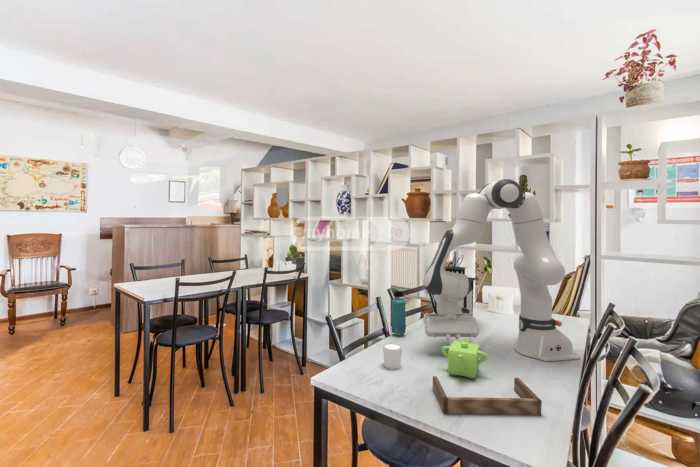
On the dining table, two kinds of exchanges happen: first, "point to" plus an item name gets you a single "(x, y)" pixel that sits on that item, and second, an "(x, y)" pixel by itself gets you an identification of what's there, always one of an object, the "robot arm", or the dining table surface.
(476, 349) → the teapot
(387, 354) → the white cylinder
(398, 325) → the beverage bottle
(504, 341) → the dining table surface
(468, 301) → the lantern
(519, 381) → the frame
